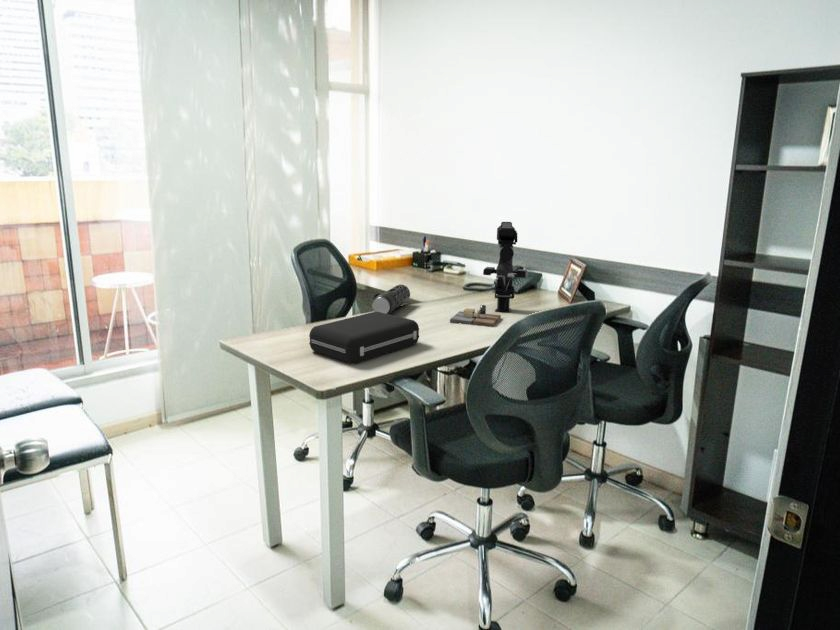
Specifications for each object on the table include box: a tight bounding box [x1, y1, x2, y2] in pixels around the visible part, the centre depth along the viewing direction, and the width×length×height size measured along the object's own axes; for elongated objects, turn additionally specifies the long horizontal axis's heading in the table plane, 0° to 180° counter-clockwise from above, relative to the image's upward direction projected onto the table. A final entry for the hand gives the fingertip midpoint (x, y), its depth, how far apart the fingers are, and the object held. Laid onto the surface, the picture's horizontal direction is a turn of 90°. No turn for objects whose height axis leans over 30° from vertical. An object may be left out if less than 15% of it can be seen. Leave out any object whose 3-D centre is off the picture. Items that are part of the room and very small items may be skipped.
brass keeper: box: [463, 307, 480, 319], centre depth 273 cm, size 4×7×3 cm, turn 70°
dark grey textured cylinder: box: [371, 284, 411, 315], centre depth 287 cm, size 10×28×10 cm, turn 163°
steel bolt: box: [473, 304, 487, 318], centre depth 272 cm, size 2×8×5 cm, turn 71°
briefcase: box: [308, 311, 420, 364], centre depth 234 cm, size 36×32×10 cm
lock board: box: [449, 310, 502, 328], centre depth 273 cm, size 15×19×2 cm
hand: (504, 291), depth 275 cm, fingers closed
